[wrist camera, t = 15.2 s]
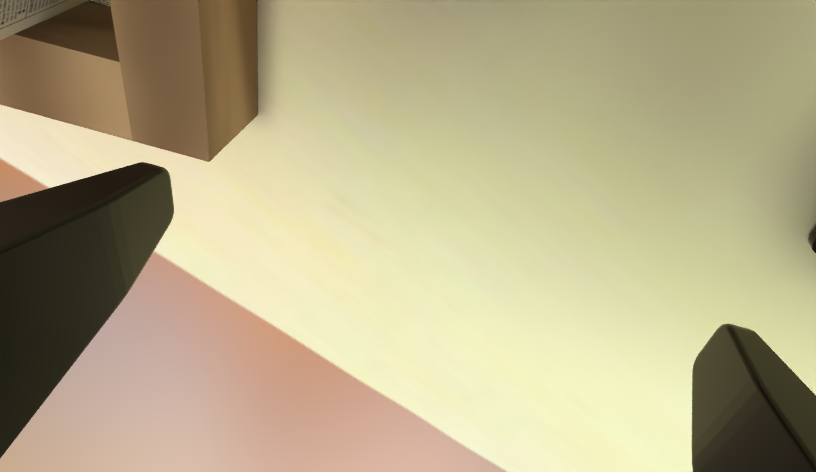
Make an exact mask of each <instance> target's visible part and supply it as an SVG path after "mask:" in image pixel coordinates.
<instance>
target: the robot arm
mask: <svg viewBox="0 0 816 472" xmlns="http://www.w3.org/2000/svg"><path fill="white" fill-rule="evenodd" d="M173 214H174V204H173V196H172V188H171V180H170V175H169V173H168V171H167V170H166V169H165V168H163V167H160V166H156V165H152V164H149V163H144V162H141V163H137V164H133V165H130V166H126V167H123V168H119V169H116V170H112V171H109V172H105V173H102V174H98V175H95V176H91V177H87V178H84V179H80V180H77V181H73V182H70V183H66V184H63V185H59V186H56V187H52V188H49V189H45V190H42V191H39V192H35V193H31V194H28V195H24V196H21V197H18V198H14V199H10V200H7V201H3V202H0V458H1V457H2V455H3V454H4V453H5V452H6V450H7V449H8V448H9V446H10V445H11V444H12V443H13V441H14V440H15V439H16V437H17V436H18V435H19V433H20V432H21V431H22V430H23V428H24V427H25V426H26V424H27V423H28V422H29V421H30V419H31V418H32V417H33V415H34V414H35V413H36V411H37V410H38V409H39V407H40V406H41V405H42V404H43V402H44V401H45V400H46V398H47V397H48V396H49V395H50V393H51V392H52V391H53V389H54V388H55V387H56V385H57V384H58V383H59V382H60V380H61V379H62V378H63V376H64V375H65V374H66V373H67V371H68V370H69V369H70V367H71V366H72V365H73V363H74V362H75V361H76V360H77V358H78V357H79V356H80V355H81V353H82V352H83V351H84V349H85V348H86V347H87V346H88V344H89V343H90V342H91V340H92V339H93V338H94V336H95V335H96V334H97V333H98V331H99V330H100V328H101V327H102V326H103V325H104V324H105V322H106V321H107V320H108V318H109V317H110V316H111V314H112V313H113V312H114V310H115V309H116V308H117V307H118V305H119V304H120V303H121V301H122V300H123V298H124V297H125V296H126V295H127V293H128V291H129V290H130V289H131V287H132V285H133V284H134V282H135V281H136V279H137V277H138V276H139V274H140V273H141V271H142V269H143V268H144V266H145V264H146V263H147V261H148V259H149V258H150V256H151V254H152V253H153V251H154V249H155V248H156V246H157V244H158V243H159V241H160V239H161V238H162V236H163V235H164V233H165V231H166V230H167V228H168V226H169V225H170V223H171V221H172V218H173ZM809 244H810V246H811V248H812V249H813V251H814V252H815V253H816V228H815V230H814V231H813V232H812V233H811V235H810V237H809ZM692 466H693V472H816V395H815V394H814V393H813V392H812V391H811V390H810V389H809V388H808V387H807V386H806V385H805V384H804V383H803V382H802V381H801V380H800V379H799V378H798V376H797V375H796V374H795V373H794V372H793V371H792V370H791V369H790V368H789V367H788V366H787V365H786V364H785V363H784V362H783V361H782V360H781V359H780V358H779V357H778V355H777V354H776V353H775V352H774V351H773V350H772V349H771V348H770V347H769V346H768V345H767V344H766V343H765V342H764V341H763V340H762V339H761V338H760V337H759V336H758V334H756V333H755V332H754V331H752V330H750V329H747V328H743V327H739V326H736V325H732V324H723V325H722V326H720V327H719V328H718V329H717V330H716V332H715V333H714V334H713V336H712V337H711V338H710V340H709V341H708V342H707V344H706V345H705V346H704V348H703V349H702V350H701V352H700V353H699V354H698V356H697V357H696V360H695V362H694V365H693V375H692Z"/></svg>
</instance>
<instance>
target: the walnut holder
mask: <svg viewBox="0 0 816 472" xmlns="http://www.w3.org/2000/svg"><path fill="white" fill-rule="evenodd" d="M110 6H111V7H108V6H104V5H100V4H96V3H92V2H88V1H87V2H85V3H82V4H80V5H78V6H76V7H74V8H71V9H69V10H67V11H65V12H62V13H60V14H58V15H56V16H54V17H51V18H49V19H47V20H45V21H42V22H40V23H38V24H36V25H33V26H31V27H29V28H27V29H24V30H22V31H20V32H18V33H15V34H13V35H11V36H9V37H6V38H4V39H2V40H0V104H1V105H4V106H8V107H12V108H15V109H19V110H22V111H26V112H30V113H33V114H37V115H41V116H44V117H48V118H52V119H55V120H59V121H62V122H66V123H70V124H73V125H77V126H81V127H84V128H88V129H92V130H95V131H99V132H102V133H106V134H110V135H113V136H117V137H121V138H124V139H128V140H132V141H135V142H139V143H142V144H146V145H150V146H153V147H157V148H161V149H164V150H168V151H172V152H175V153H179V154H182V155H186V156H190V157H193V158H197V159H201V160H204V161H208V162H210V161H211V160H212V159H213V158H214V157H215V156H216V155H217V154H218V153H219V152H220V151H221V150H222V149H223V148H224V147H225V146H226V145H227V144H228V143H229V142H230V141H231V140H232V139H233V138H234V137H235V136H236V135H237V134H238V133H239V132H240V131H242V130H243V129H244V128H245V127H246V126H247V125H248V124H249V123H250V122H251V121H252V120H253V119H254V118H255V117H256V116H257V0H110Z"/></svg>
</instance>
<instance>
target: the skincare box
mask: <svg viewBox="0 0 816 472" xmlns="http://www.w3.org/2000/svg"><path fill="white" fill-rule="evenodd" d="M87 1H89V0H0V40H2V39H4V38H6V37H9V36H11V35H13V34H15V33H18V32H20V31H22V30H24V29H27V28H29V27H31V26H33V25H36V24H38V23H40V22H42V21H45V20H47V19H49V18H51V17H54V16H56V15H58V14H60V13H62V12H65V11H67V10H69V9H71V8H74V7H76V6H78V5H80V4H82V3H85V2H87Z"/></svg>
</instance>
